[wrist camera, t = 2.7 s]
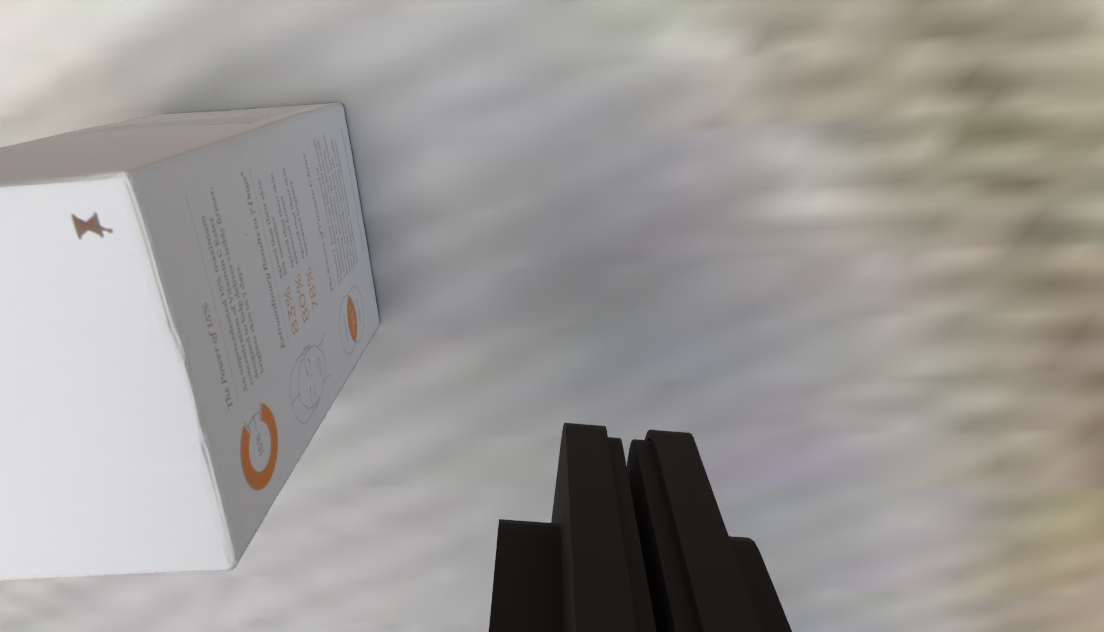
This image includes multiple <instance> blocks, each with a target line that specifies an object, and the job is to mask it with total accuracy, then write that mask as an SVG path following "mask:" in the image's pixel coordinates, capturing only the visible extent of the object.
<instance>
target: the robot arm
mask: <svg viewBox="0 0 1104 632" xmlns="http://www.w3.org/2000/svg"><path fill="white" fill-rule="evenodd" d="M489 632H792V631H791V628H790V626H789V623H788V621H787V618H786V616H785V613H784V611H783V608H782V606H781V603H780V601H779V598H778V596H777V593H776V591H775V588H774V586H773V584H772V581H771V579H770V576H769V574H768V571H767V569H766V566H765V564H764V561H763V559H762V556H761V554H760V551H759V549H758V547H757V546H756V544H755V542H754V541H753V540H751V539H750V538H745V537H731V536H728V533H727V531H726V528H725V525H724V522H723V519H722V516H721V514H720V511H719V508H718V505H717V502H716V500H715V497H714V494H713V491H712V488H711V486H710V483H709V480H708V477H707V474H706V471H705V469H704V466H703V463H702V460H701V457H700V455H699V452H698V449H697V446H696V443H695V441H694V438H693V436H692V434H691V433H684V432H671V431H659V430H649V431H648V432H647V434H646V437H645V440H635V439H633V440H632V442H631V445H630V449H629V455H628V461H627V467H626V462H625V456H624V451H623V445H622V441H621V439H620V438H610V437H608V436H607V430H606V427H605V426H597V425H584V424H572V423H564V426H563V431H562V438H561V447H560V455H559V463H558V472H557V480H556V488H555V497H554V505H553V514H552V522H551V523H542V522H529V521H515V520H501V519H499V527H498V538H497V549H496V560H495V571H494V582H493V593H492V604H491V615H490V626H489Z"/></svg>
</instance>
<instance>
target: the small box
mask: <svg viewBox="0 0 1104 632" xmlns="http://www.w3.org/2000/svg"><path fill="white" fill-rule="evenodd" d="M379 325H380V323H379V316H378V310H377V303H376V297H375V291H374V285H373V278H372V272H371V266H370V260H369V253H368V247H367V241H366V235H365V230H364V224H363V218H362V212H361V206H360V199H359V193H358V187H357V181H356V176H355V170H354V164H353V158H352V152H351V146H350V141H349V136H348V130H347V124H346V119H345V113H344V108H343V105H342V104H341V103H326V104H312V105H297V106H282V107H267V108H253V109H238V110H223V111H206V112H189V113H174V114H160V115H152V116H148V117H143V118H139V119H133V120H128V121H124V122H119V123H114V124H109V125H104V126H98V127H93V128H88V129H83V130H78V131H73V132H69V133H64V134H60V135H55V136H51V137H47V138H42V139H38V140H34V141H29V142H25V143H20V144H16V145H11V146H7V147H2V148H0V580H15V579H38V578H58V577H78V576H97V575H116V574H138V573H164V572H190V571H229V570H233V569H234V568H235V567H236V565H237V564H238V562H239V560H240V559H241V557H242V555H243V554H244V552H245V550H246V548H247V547H248V545H249V543H250V542H251V540H252V538H253V537H254V535H255V533H256V531H257V530H258V528H259V526H260V525H261V523H262V521H263V519H264V518H265V516H266V514H267V513H268V511H269V509H270V507H271V506H272V504H273V502H274V500H275V499H276V497H277V496H278V494H279V492H280V491H281V489H282V488H283V486H284V484H285V483H286V481H287V479H288V478H289V476H290V474H291V473H292V471H293V469H294V468H295V466H296V464H297V463H298V461H299V459H300V458H301V456H302V454H303V453H304V451H305V449H306V448H307V446H308V444H309V443H310V441H311V439H312V438H313V436H314V434H315V433H316V431H317V429H318V428H319V426H320V424H321V422H322V421H323V419H324V417H325V416H326V414H327V412H328V411H329V409H330V407H331V406H332V404H333V402H334V401H335V399H336V397H337V396H338V394H339V392H340V390H341V389H342V387H343V385H344V384H345V382H346V380H347V379H348V377H349V375H350V374H351V372H352V370H353V369H354V367H355V365H356V364H357V362H358V360H359V359H360V357H361V355H362V353H363V352H364V350H365V348H366V347H367V345H368V343H369V342H370V340H371V338H372V337H373V335H374V334H375V332H376V330H377V329H378V327H379Z"/></svg>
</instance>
